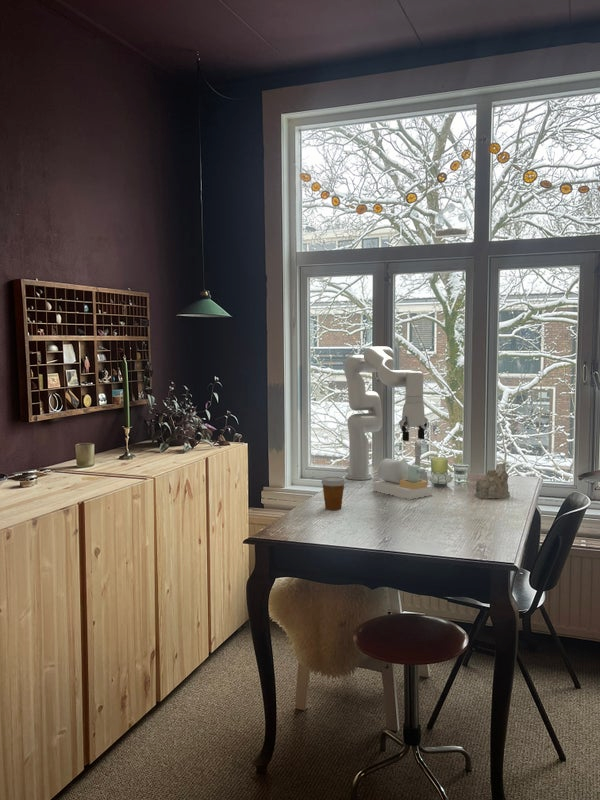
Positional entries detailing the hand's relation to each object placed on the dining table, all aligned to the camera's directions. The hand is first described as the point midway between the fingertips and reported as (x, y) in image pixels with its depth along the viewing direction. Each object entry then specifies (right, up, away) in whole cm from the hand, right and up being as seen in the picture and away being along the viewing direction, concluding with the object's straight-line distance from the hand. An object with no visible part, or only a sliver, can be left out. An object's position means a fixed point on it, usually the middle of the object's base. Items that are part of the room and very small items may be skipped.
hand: (413, 439), depth 286 cm
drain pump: (+1, -20, 0) cm, 20 cm away
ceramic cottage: (+34, -24, +4) cm, 42 cm away
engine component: (+6, -22, +26) cm, 35 cm away
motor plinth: (-4, -24, +7) cm, 25 cm away
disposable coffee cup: (-35, -26, -21) cm, 49 cm away
